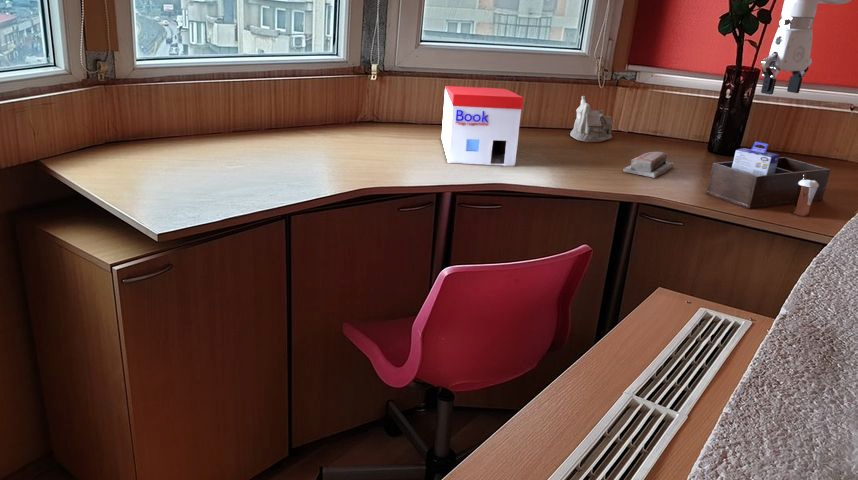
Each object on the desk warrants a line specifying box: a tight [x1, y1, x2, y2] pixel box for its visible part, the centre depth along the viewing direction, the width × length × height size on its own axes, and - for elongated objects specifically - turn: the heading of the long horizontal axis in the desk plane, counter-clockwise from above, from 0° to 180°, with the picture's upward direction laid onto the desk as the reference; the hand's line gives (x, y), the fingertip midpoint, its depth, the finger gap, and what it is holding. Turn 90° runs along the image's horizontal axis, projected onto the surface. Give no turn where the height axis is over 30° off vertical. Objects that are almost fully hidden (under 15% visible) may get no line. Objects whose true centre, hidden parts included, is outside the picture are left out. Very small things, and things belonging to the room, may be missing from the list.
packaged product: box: [623, 151, 674, 179], centre depth 222 cm, size 18×5×10 cm
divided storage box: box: [706, 156, 832, 210], centre depth 198 cm, size 15×28×9 cm, turn 114°
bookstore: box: [441, 85, 524, 167], centre depth 232 cm, size 21×35×21 cm, turn 0°
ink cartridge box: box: [732, 141, 780, 176], centre depth 194 cm, size 10×6×14 cm, turn 41°
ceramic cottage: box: [569, 95, 613, 143], centre depth 263 cm, size 16×16×15 cm
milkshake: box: [792, 174, 819, 217], centre depth 184 cm, size 4×5×10 cm
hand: (779, 93), depth 187 cm, fingers open, 9 cm apart
